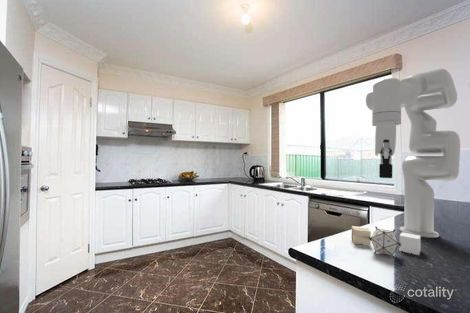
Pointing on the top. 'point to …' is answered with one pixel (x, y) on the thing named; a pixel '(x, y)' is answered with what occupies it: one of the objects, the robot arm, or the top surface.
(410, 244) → the white block
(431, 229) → the robot arm
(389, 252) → the game die
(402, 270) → the top surface
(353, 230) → the ash block
